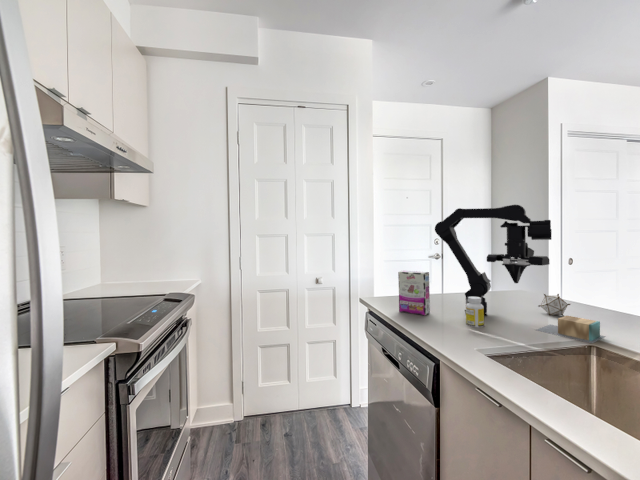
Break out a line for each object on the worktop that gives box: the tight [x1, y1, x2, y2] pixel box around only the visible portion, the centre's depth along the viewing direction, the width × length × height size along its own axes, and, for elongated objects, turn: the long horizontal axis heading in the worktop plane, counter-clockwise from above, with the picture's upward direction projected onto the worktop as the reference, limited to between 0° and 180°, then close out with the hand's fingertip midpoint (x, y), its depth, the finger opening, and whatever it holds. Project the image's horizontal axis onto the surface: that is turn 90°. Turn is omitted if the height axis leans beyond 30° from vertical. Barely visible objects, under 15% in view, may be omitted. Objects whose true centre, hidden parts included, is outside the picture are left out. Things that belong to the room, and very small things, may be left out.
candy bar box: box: [397, 270, 431, 316], centre depth 122 cm, size 11×5×16 cm, turn 49°
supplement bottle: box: [465, 297, 485, 328], centre depth 103 cm, size 5×5×10 cm
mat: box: [535, 324, 606, 344], centre depth 93 cm, size 14×10×1 cm
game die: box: [538, 293, 572, 317], centre depth 113 cm, size 9×8×10 cm
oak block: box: [557, 315, 601, 341], centre depth 91 cm, size 4×6×8 cm
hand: (516, 283), depth 110 cm, fingers closed
